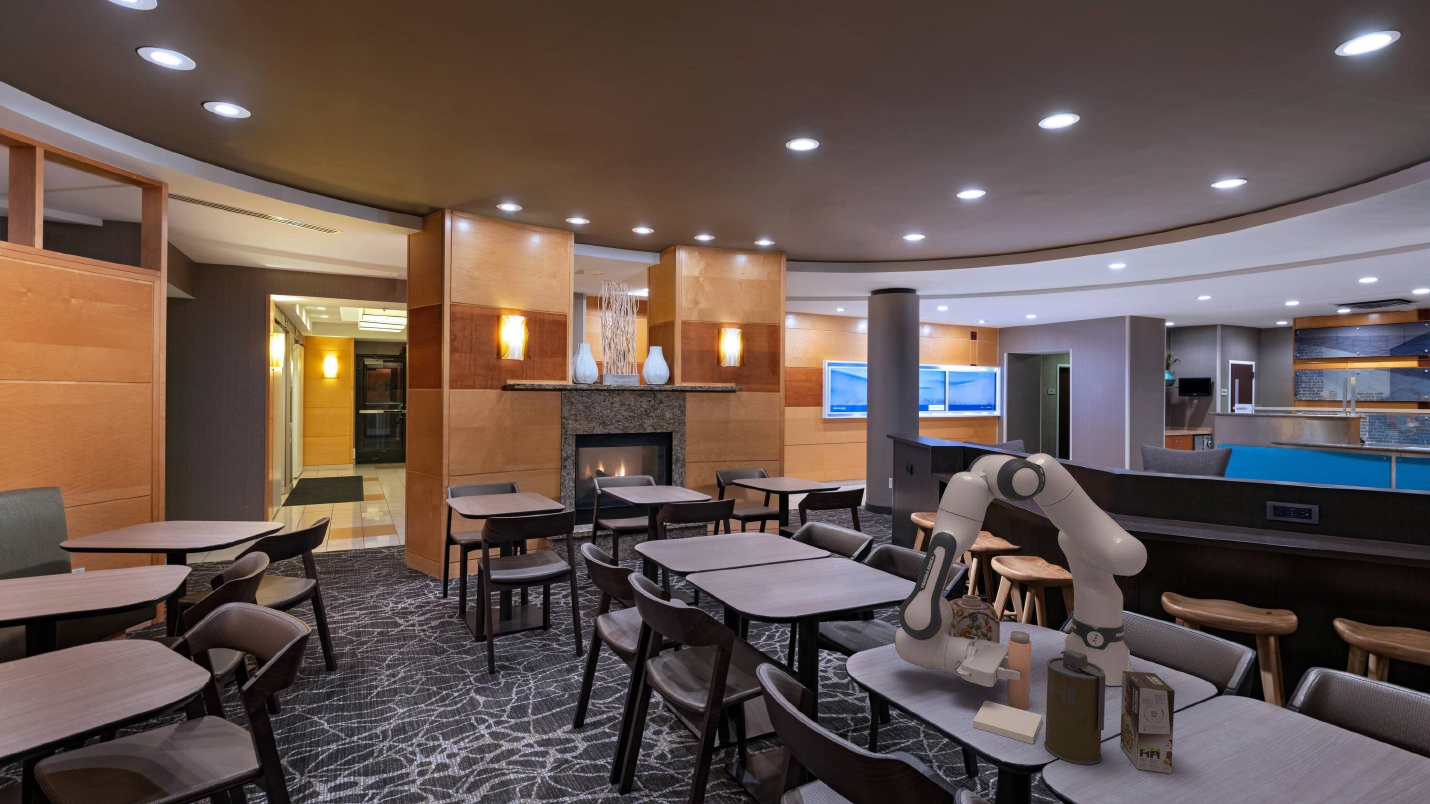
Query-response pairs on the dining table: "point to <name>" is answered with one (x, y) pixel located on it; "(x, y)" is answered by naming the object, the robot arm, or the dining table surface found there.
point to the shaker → (1019, 661)
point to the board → (1008, 721)
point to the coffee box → (1147, 721)
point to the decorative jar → (974, 619)
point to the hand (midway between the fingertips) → (1023, 671)
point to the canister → (1075, 708)
